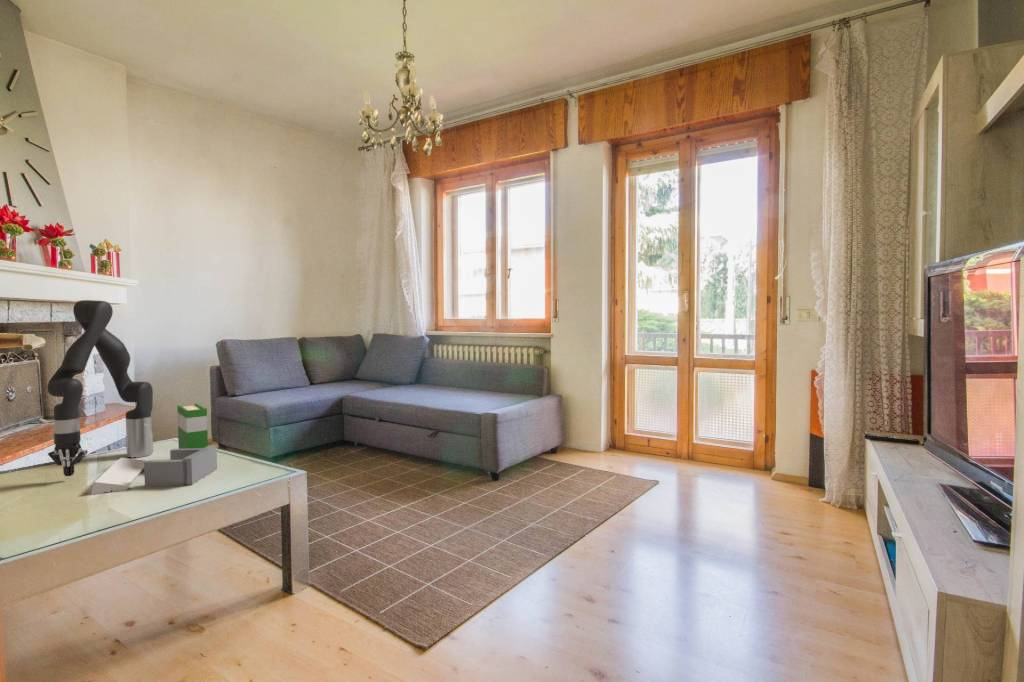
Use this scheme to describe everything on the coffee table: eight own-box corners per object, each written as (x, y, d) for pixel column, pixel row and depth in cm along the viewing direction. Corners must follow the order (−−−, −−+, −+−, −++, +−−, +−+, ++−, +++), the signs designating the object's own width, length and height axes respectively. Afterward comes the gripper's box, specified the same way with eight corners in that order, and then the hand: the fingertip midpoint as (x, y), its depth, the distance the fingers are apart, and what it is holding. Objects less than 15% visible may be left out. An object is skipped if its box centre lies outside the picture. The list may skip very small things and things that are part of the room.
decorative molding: (146, 472, 212) (117, 469, 207) (149, 461, 212) (120, 457, 208) (124, 498, 181) (90, 495, 177) (128, 485, 181) (94, 482, 177)
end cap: (174, 470, 204) (173, 446, 203) (217, 469, 205) (216, 445, 205) (144, 486, 185) (143, 459, 184) (192, 485, 186) (191, 458, 186)
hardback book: (179, 459, 219) (177, 405, 218) (198, 456, 224) (197, 403, 223) (187, 468, 206) (186, 411, 205) (208, 465, 212) (206, 408, 210)
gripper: (93, 428, 195) (94, 472, 195) (56, 428, 193) (58, 473, 194) (78, 432, 187) (80, 478, 188) (39, 433, 186) (42, 479, 187)
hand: (69, 475), depth 191 cm, fingers closed
